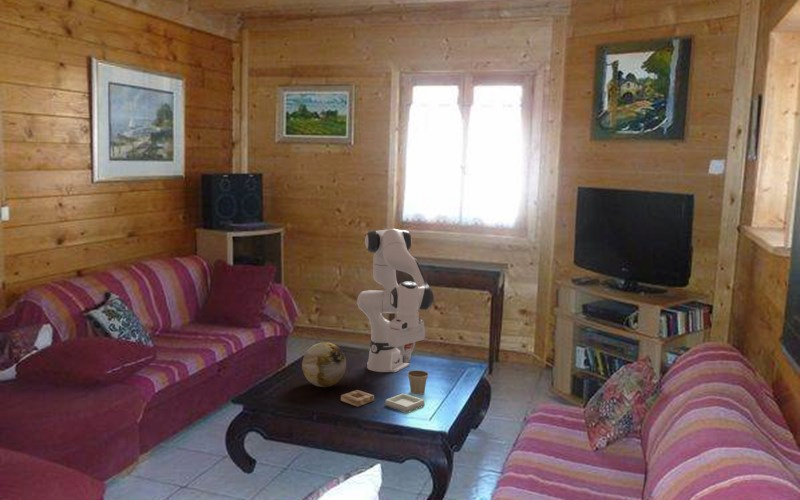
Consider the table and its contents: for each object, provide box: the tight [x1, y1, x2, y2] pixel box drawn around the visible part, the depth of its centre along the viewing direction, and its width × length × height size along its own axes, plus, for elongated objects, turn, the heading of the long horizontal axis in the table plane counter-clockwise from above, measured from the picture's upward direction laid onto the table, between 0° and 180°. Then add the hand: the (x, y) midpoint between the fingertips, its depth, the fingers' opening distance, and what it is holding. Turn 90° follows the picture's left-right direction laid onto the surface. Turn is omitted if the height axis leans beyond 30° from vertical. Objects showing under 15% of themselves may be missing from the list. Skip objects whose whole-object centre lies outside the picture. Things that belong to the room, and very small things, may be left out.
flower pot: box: [407, 369, 429, 395], centre depth 302 cm, size 9×9×9 cm
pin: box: [402, 344, 412, 364], centre depth 282 cm, size 4×4×8 cm
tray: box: [384, 393, 425, 413], centre depth 285 cm, size 12×12×2 cm
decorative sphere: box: [301, 341, 347, 388], centre depth 305 cm, size 20×20×20 cm
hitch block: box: [340, 389, 375, 407], centre depth 289 cm, size 10×10×2 cm
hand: (406, 353), depth 282 cm, fingers closed on pin, 3 cm apart
